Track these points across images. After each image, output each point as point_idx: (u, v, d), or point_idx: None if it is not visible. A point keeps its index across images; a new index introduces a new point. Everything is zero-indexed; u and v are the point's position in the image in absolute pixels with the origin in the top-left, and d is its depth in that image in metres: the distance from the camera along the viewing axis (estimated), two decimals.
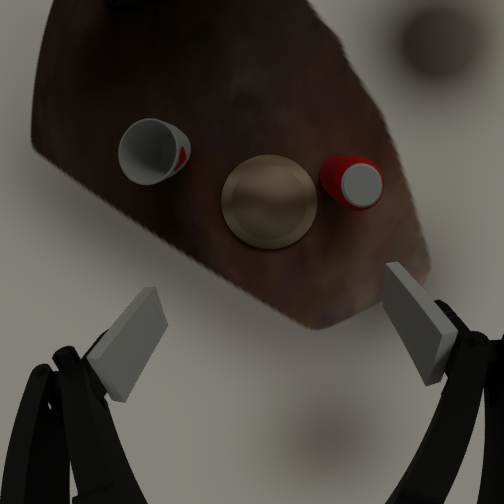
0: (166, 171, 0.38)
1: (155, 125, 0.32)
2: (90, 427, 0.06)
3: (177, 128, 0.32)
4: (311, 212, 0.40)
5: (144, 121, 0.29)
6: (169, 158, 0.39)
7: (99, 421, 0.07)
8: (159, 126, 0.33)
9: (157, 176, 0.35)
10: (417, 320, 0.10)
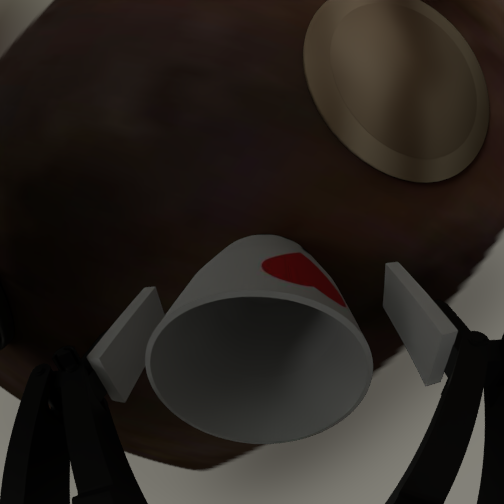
0: None
1: (186, 326, 0.13)
2: (90, 427, 0.06)
3: (201, 268, 0.12)
4: (423, 8, 0.10)
5: (157, 374, 0.09)
6: None
7: (99, 421, 0.07)
8: (193, 313, 0.14)
9: (329, 335, 0.13)
10: (417, 320, 0.10)
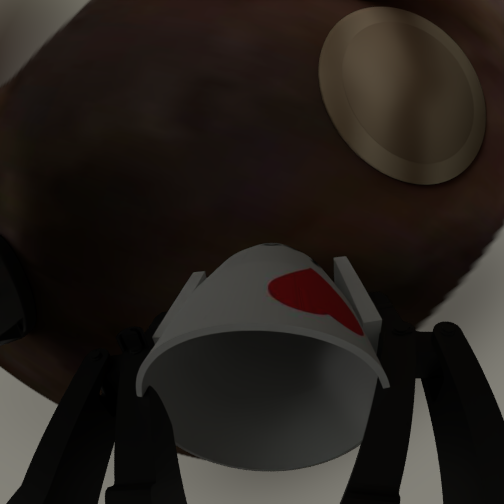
0: None
1: (184, 345, 0.11)
2: (144, 416, 0.07)
3: (199, 285, 0.10)
4: (425, 25, 0.12)
5: None
6: None
7: (156, 410, 0.08)
8: None
9: (339, 355, 0.12)
10: None
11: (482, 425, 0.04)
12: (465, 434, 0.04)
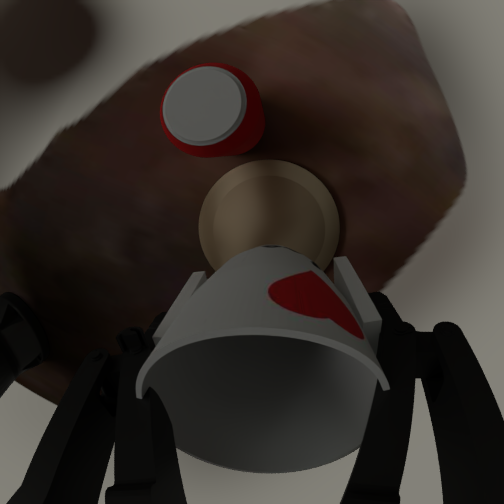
0: None
1: (184, 348, 0.11)
2: (144, 416, 0.07)
3: (199, 288, 0.10)
4: (288, 169, 0.25)
5: None
6: None
7: (155, 410, 0.08)
8: None
9: (340, 357, 0.12)
10: None
11: (482, 425, 0.04)
12: (465, 434, 0.04)
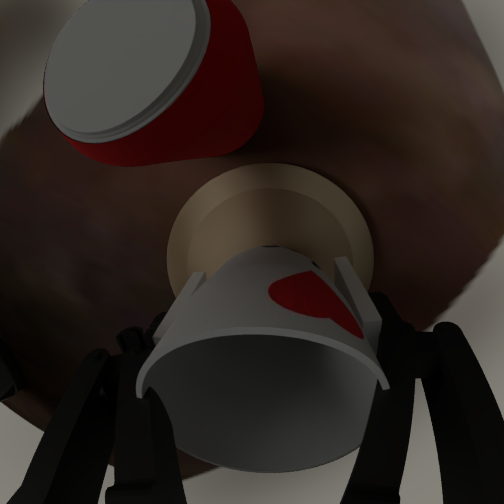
0: None
1: (184, 347, 0.11)
2: (144, 416, 0.07)
3: (199, 287, 0.10)
4: (300, 179, 0.16)
5: None
6: None
7: (155, 410, 0.08)
8: None
9: (340, 357, 0.12)
10: None
11: (482, 425, 0.04)
12: (465, 434, 0.04)
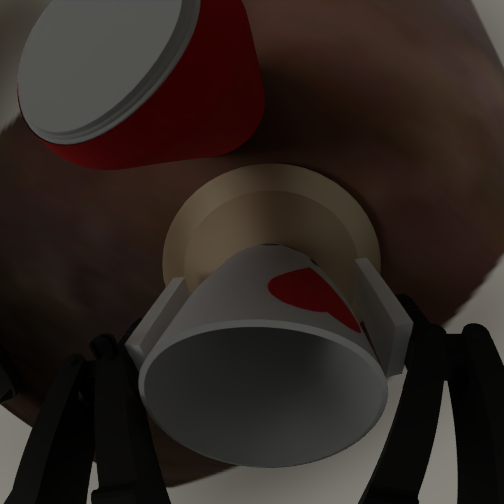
0: None
1: (185, 343, 0.12)
2: (121, 419, 0.07)
3: (200, 284, 0.10)
4: (304, 181, 0.15)
5: (152, 398, 0.08)
6: None
7: (132, 413, 0.07)
8: None
9: (338, 353, 0.12)
10: (377, 312, 0.11)
11: (502, 427, 0.03)
12: (485, 435, 0.04)
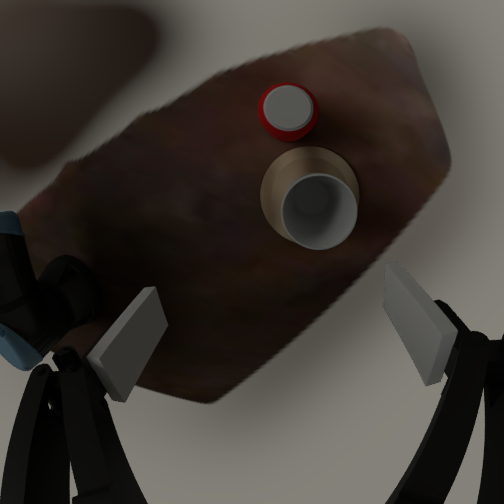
0: (334, 207, 0.35)
1: None
2: (90, 427, 0.06)
3: (294, 180, 0.31)
4: (324, 153, 0.35)
5: (282, 211, 0.29)
6: (318, 204, 0.37)
7: (99, 421, 0.07)
8: (285, 202, 0.33)
9: (341, 214, 0.32)
10: (417, 320, 0.10)
11: None
12: None
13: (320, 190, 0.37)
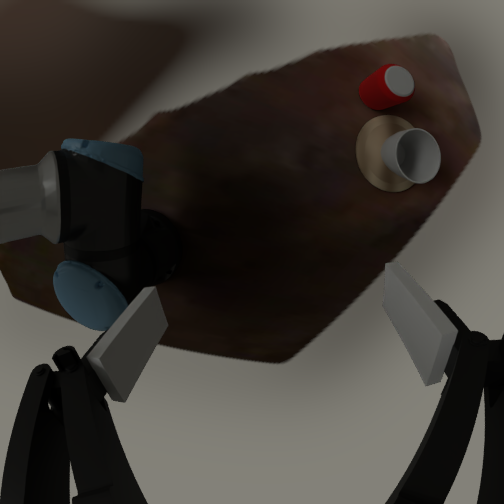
0: (413, 160, 0.39)
1: None
2: (90, 427, 0.06)
3: (394, 134, 0.35)
4: (401, 121, 0.40)
5: None
6: (398, 159, 0.42)
7: (99, 421, 0.07)
8: None
9: (422, 163, 0.37)
10: (417, 320, 0.10)
11: None
12: None
13: (399, 149, 0.41)
